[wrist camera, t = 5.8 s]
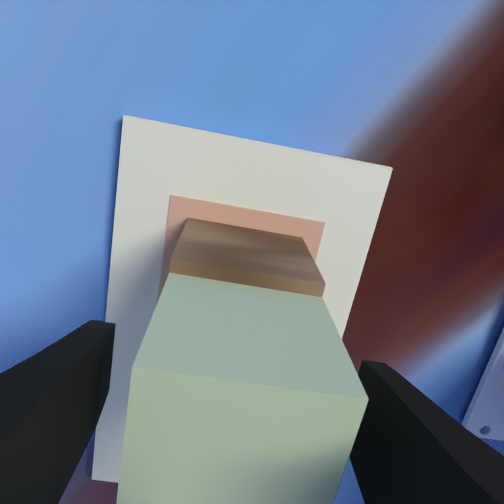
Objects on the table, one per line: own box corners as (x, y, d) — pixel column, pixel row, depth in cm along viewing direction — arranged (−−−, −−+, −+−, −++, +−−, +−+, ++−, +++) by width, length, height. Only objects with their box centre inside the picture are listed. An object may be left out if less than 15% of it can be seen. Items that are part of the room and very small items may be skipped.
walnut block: (302, 237, 16) (325, 283, 12) (278, 336, 18) (291, 408, 14) (187, 217, 16) (170, 258, 12) (173, 320, 17) (152, 390, 13)
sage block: (322, 297, 12) (368, 399, 8) (289, 419, 14) (313, 561, 9) (169, 272, 12) (132, 366, 8) (151, 402, 13) (111, 541, 9)
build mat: (389, 166, 16) (393, 168, 16) (292, 494, 21) (293, 502, 21) (126, 115, 15) (122, 115, 15) (94, 472, 20) (91, 480, 20)
